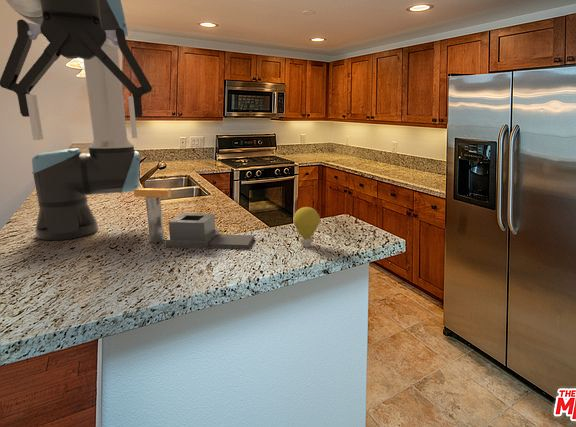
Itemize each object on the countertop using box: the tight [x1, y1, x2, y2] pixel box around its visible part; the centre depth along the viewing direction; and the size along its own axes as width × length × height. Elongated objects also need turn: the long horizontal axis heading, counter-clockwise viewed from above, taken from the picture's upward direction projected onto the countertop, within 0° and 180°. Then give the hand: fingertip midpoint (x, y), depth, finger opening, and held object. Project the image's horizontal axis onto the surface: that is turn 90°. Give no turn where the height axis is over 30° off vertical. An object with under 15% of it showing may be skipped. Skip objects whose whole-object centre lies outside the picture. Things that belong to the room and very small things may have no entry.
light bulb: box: [292, 206, 321, 248], centre depth 92 cm, size 7×7×10 cm
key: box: [133, 187, 172, 243], centre depth 96 cm, size 9×4×14 cm, turn 84°
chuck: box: [164, 212, 221, 250], centre depth 95 cm, size 11×10×6 cm
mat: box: [209, 233, 255, 250], centre depth 95 cm, size 10×8×1 cm
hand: (88, 139), depth 58 cm, fingers open, 13 cm apart
